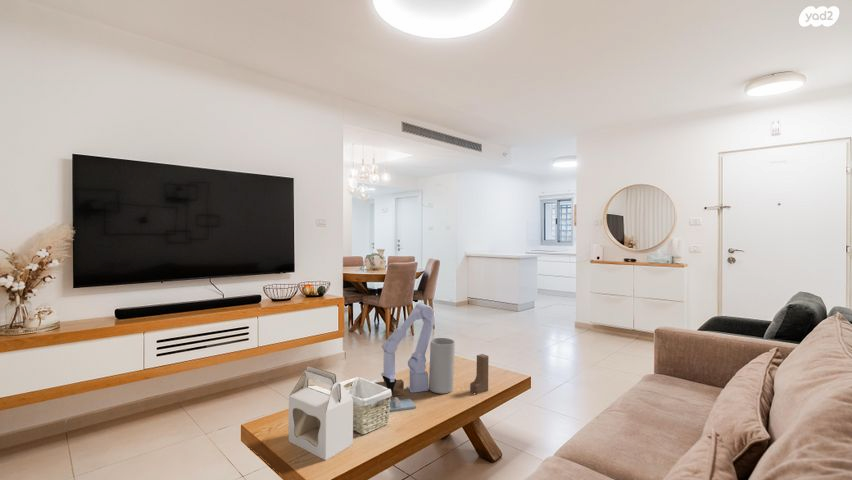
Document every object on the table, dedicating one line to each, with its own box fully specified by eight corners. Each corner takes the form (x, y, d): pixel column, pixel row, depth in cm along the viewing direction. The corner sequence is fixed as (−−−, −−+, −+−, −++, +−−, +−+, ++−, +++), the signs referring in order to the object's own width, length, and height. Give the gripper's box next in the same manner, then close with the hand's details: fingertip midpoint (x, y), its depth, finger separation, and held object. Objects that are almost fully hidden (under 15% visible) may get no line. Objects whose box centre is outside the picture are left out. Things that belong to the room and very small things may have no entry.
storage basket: (328, 418, 168) (328, 384, 168) (358, 407, 180) (358, 375, 180) (362, 438, 152) (362, 400, 152) (393, 424, 164) (393, 389, 164)
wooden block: (476, 394, 195) (476, 358, 195) (469, 391, 198) (470, 356, 198) (488, 390, 200) (488, 355, 200) (482, 387, 204) (482, 353, 204)
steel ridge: (397, 401, 184) (397, 396, 184) (400, 407, 178) (400, 402, 178) (392, 401, 183) (392, 397, 183) (395, 407, 177) (395, 403, 177)
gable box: (287, 441, 149) (288, 368, 149) (315, 427, 160) (316, 359, 160) (325, 461, 136) (326, 381, 136) (353, 445, 147) (354, 371, 147)
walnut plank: (401, 391, 199) (401, 379, 199) (403, 393, 195) (403, 382, 195) (374, 394, 194) (374, 382, 194) (376, 397, 190) (376, 385, 190)
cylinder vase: (453, 394, 195) (455, 345, 194) (428, 393, 195) (430, 344, 195) (452, 384, 207) (454, 338, 207) (428, 383, 208) (430, 337, 207)
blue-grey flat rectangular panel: (410, 400, 187) (410, 398, 187) (415, 408, 179) (415, 406, 179) (377, 404, 182) (377, 402, 182) (381, 413, 174) (381, 410, 174)
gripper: (378, 360, 200) (378, 387, 200) (384, 369, 186) (384, 398, 187) (391, 359, 202) (391, 385, 203) (398, 368, 189) (398, 396, 189)
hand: (389, 391), depth 195 cm, fingers closed on walnut plank, 4 cm apart
